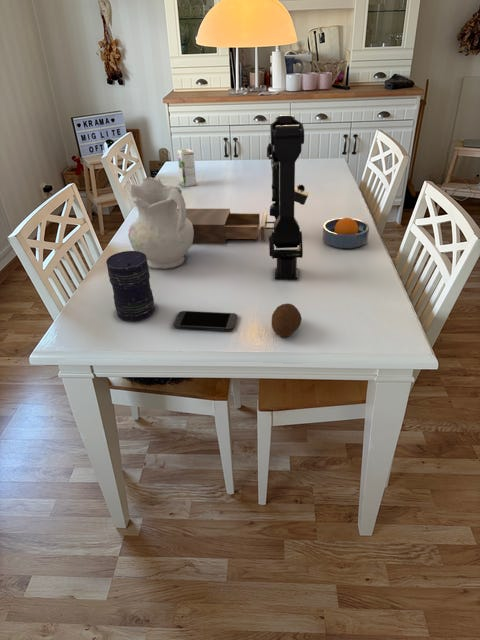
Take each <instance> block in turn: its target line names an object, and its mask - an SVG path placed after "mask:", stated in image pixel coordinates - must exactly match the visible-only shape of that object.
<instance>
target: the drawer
mask: <svg viewBox="0 0 480 640" xmlns="http://www.w3.org/2000/svg"><path fill="white" fill-rule="evenodd" d="M274 222H275V220H268V211H263V213H262V217H261V218H260V213H259V212H230V213H229V216H228V218H227V221H226V224H225V239H227V240H257V239H258V237H259V236H258V235H259V231H260V241H261V242H265V238H266V234H267V230H274V226H268V224H274Z"/></svg>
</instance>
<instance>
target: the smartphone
mask: <svg viewBox="0 0 480 640" xmlns="http://www.w3.org/2000/svg"><path fill="white" fill-rule="evenodd" d="M237 318H238V314H237V313H236V312H235V313H234V312H217V311H215V312H214V311H193V310H191V311H190V310H181V311H179V312H178V314H177V316H176V318H175V320H174V321H173V325H172V326H173V327H174V328H175V329H188V330H189V329H190V330H205V331H207V330H210V331H229V332H230V331H233V330H234V329H235V326H236V323H237Z"/></svg>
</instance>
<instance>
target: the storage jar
mask: <svg viewBox="0 0 480 640" xmlns="http://www.w3.org/2000/svg"><path fill="white" fill-rule="evenodd" d="M105 263H106V267H107V274H108V278H109V283H110V284H111V287H112V292H113V301H114V302H113V303H114V308H115V310H116V316H117V318H118V319H119V320H121V321H123V322H128V323H135V322H142V321H144V320H147V319H148V318H150V317H152V316H153V315H154V313H155V311H156V308H155V298H154V296H153V289H152V288H151V283H150V275H151V274H150V267H149V266H148V263H147V257H146V255H145V254H144V253H142V252H138V251H134V250H125V251H120V252H116V253H114V254H111V255H110V256H109V257H108V258H107V259H106V260H105Z"/></svg>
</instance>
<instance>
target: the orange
mask: <svg viewBox="0 0 480 640" xmlns="http://www.w3.org/2000/svg"><path fill="white" fill-rule="evenodd" d="M342 218H343V219H341V220H339V221H338V222H337V223H336V225H335V229H334V231H335V233H337V234H343V235H352V234H358V225H357V223H356V222H355V221H354V220H353V219H354V218H351V217H342Z"/></svg>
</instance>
